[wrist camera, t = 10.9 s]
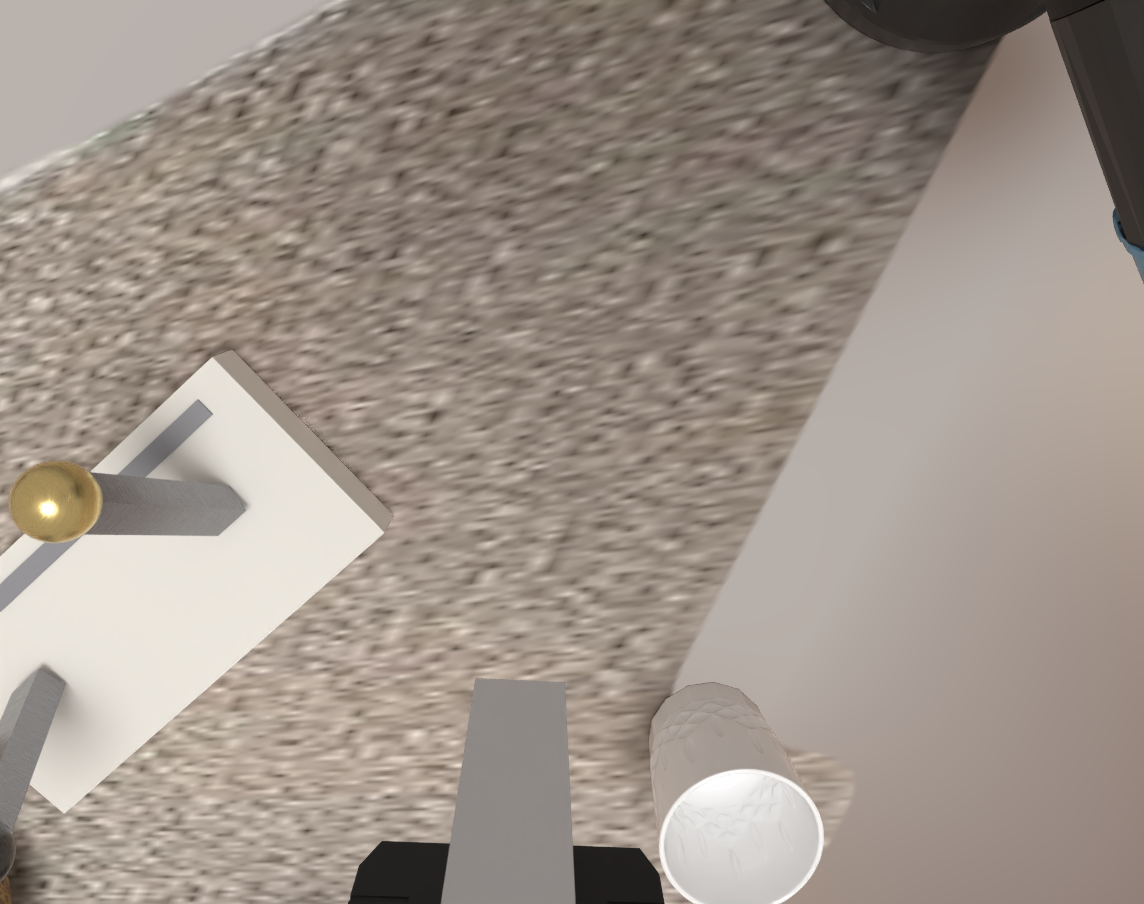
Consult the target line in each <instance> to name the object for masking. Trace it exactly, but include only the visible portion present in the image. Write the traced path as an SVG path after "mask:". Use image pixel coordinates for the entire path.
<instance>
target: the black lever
mask: <svg viewBox="0 0 1144 904" xmlns="http://www.w3.org/2000/svg"><path fill="white" fill-rule="evenodd" d="M65 685H66V684H65V683H63V682H61V681H60V680H58V679H56V678H54V677H52V676H51V675H49V674H47V673H45V672H44V671H42V670H40V669H37V670H36V671H35V672H34V673H33V674H32V675H31V676H30V677H29V678H28V679H26V680H25V681H24V682H23V683H22V684H21V685H20V686H19V687H18V688H17V689H15V690H14V691H13V692H12V694H11V696H10V699H9V701H8V703H7V706H6V708H5V710H4V713H3V715H2V717H1V719H0V882H1V881H2V880H3V879H4V878H5V877H6V875H7V874H8V872H9V871H10V869H11V867H12V865H13V863H14V859H15V855H16V842H15V838H14V836H13V833H12V830H13V828H14V825H15V822H16V820H17V817H18V814H19V811H20V809H21V806H22V803H23V800H24V798H25V795H26V792H27V789H28V787H29V784H30V781H31V778H32V776H33V773H34V770H35V767H36V765H37V762H38V759H39V756H40V754H41V751H42V748H43V745H44V743H45V740H46V737H47V735H48V732H49V729H50V726H51V724H52V721H53V718H54V715H55V713H56V710H57V707H58V704H59V702H60V699H61V696H62V693H63V691H64V688H65Z"/></svg>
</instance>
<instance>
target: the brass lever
mask: <svg viewBox="0 0 1144 904" xmlns="http://www.w3.org/2000/svg"><path fill="white" fill-rule="evenodd" d="M9 511H10V514H11V517H12V519H13V521H14V523H15V524H16V526H17V527H18V528H19V529H20V530H21V531H22V532H23V533H25V534H26V535H27V536H29V537H31V538H33V539H35V540H38V541H41V542H46V543H63V542H68V541H71V540H74V539H76V538H78V537H80V536H82V535H168V536H219V535H220V534H221V533H222V532H223V531H224V530H225V529H226V528H228V527H229V526H230V525H231V524H232V523H233V522H234V521H235V520H236V519H238V518H239V517H240V516H241V515H242V514H243V513H244V512H245V511H246V509H245V508H244V506H243V505H242V503H241V502H240V500H239V499H238V497H237V496H236V495H235V493H234V492H233V490H232V489H231V487H230V486H227V485H217V484H206V483H196V482H186V481H176V480H165V479H155V478H145V477H135V476H124V475H114V474H104V473H94V472H88V471H87V470H86V469H84V468H82V467H81V466H79V465H76V464H74V463H70V462H65V461H49V462H44V463H40V464H37V465H35V466H33V467H31V468H29V469H28V470H26V471H25V472H24V473H23V474H22V475H20V477H19V478H18V479H17V480H16V482H15V483H14V485H13V487H12V489H11V492H10V495H9Z"/></svg>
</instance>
